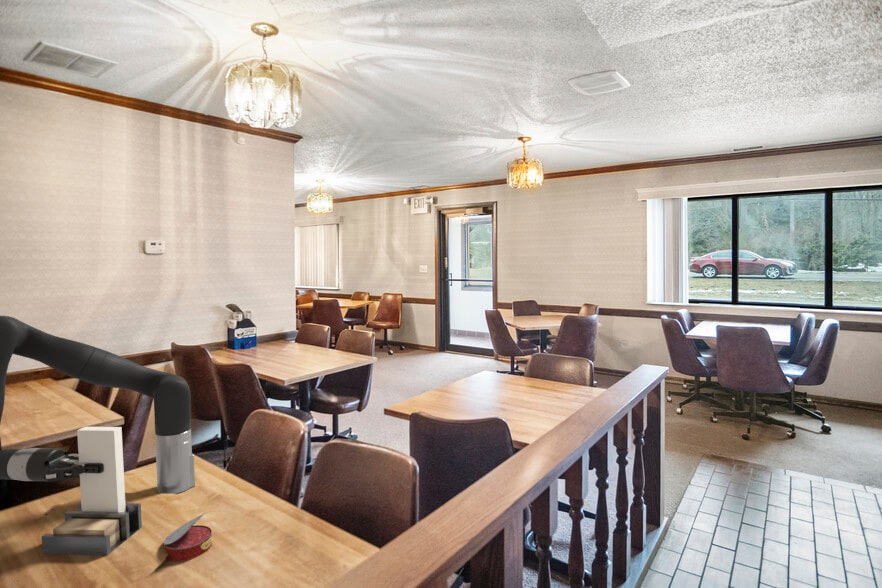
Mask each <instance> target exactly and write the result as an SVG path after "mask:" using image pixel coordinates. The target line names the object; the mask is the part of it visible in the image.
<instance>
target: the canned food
mask: <svg viewBox="0 0 882 588" xmlns="http://www.w3.org/2000/svg"><path fill="white" fill-rule="evenodd" d="M204 515H206V512H205V513H203V514H201V515H198V516H197V517H195V518H193V519H191V520H189V521H188V522H186V523H184V524H182V525H181V526H179V527H178V528H177V529H175V530H174V531H173V532H172V533H170V534H169V535H167V537H165V539H164V542H163V546H164V551H165V552H166V553H168V555H167V556H166V557H165V558H166V559H167V560H168V561H171V562H183V561H184V562H185V561H188V560H193V559H195V558H198V557H200V556H202V555H204V554H205V553H206V552H208V551H209V550H210V549H211V548H212V546H213V545H212V544H213V538H212V537H213V535H212V532H213V531H212V529H211V528H210V526H207V525H203V524H202V525H201V524H200V525H198V524H196V523H197V522H199V520H200V519H201V518H202V517H203V516H204ZM195 524H196V525H195Z"/></svg>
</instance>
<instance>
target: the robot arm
mask: <svg viewBox="0 0 882 588" xmlns="http://www.w3.org/2000/svg"><path fill="white" fill-rule="evenodd" d="M13 355H16V356H20V357H24V358H28V359H31V360H34V361H36V362H40V363H42V364H43V365H46V366H47V367H49V368H51V369H53V370H55V371H57V372H59V373H62V374H64V375H67V376H68V377H70V378H74V379H76V380H79V381H82V382H85V383H89V384H91V385H95V386H100V387H104V388H105V387H106V388H111V389H112V388H114V389H122V390H123V389H124V390H130V391H132V392H136V393H139V394H142V395H144V396H146V397H149V398H151V399H153V409H154V410H153V411H154V412H153V413H154V434H155V435H154V436H155V437H154V438H155V460H156V462H155V463H156V482H157V483H156V486H157V487H156V489H157V492H158V494H166V495H167V494H168V495H169V494H171V495H172V494H174V495H175V494H180V493H182V492H186V491H187V490H190V489H191V488H193V487H195V486H196V478H195V475H196V474H195V473H196V471H195V455H194V453H193V451H192V426H191V425H192V400H191V398H192V397H191V396H192V395H191V389H190V386H189V384H188V381H187V380H186V379H184V378H183V377H182V376H180V375H179V374H178V375H177V374H176V373H175V374H174V373H170V372H166V371H161V370H158V369H154V368H150V367H147V366H143V365H142V364H139V363H137V362H135V361H133V360H130V359H128V358H125V357H123V356H120V355H118V354H115V353H113V352H111V351H108V350H105V349H102V348H99V347H96V346H93V345H90V344H86V343H84V342H80V341H76V340H74V339H69V338H65V337H59V336H55V335H53V334H50V333H47V332H46V331H43V330H41V329H38V328H36V327H34V326H31V325H29V324H27V323H25V322H23V321H21V320H19V319H17V318H15V317H12V316H8V315H0V424H1V422H2V417H3V412H4V408H5V398H6V397H5V395H6V394H5V393H6V378H7V372H8V369H9V365H10V362H11V359H12V356H13ZM2 447H3V446H2V440H1V437H0V480H7V481H8V480H9V481H10V480H15V481H16V480H17V481H22V482H46V483H51V482H57V481H64V480H70V479H76V478H78V477H79V476H80V475H84V474H86V473H102V472H103V471H104V465H103V464H102V463H87V464H86V463H82V462H79V454H78V453H70V454H69V453H68V452H67V451H66V450H65V449H63V448H60V447H59V448H58V447H55V448H54V447H29V448H6V449H5V448H4V449H3V448H2Z"/></svg>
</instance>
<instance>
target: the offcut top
mask: <svg viewBox="0 0 882 588" xmlns="http://www.w3.org/2000/svg"><path fill="white" fill-rule="evenodd" d="M118 530H119V519H77V518H69V519H68V520H66V521H65V520H64V521H63V522H62V523H60V524H58V525H56V526H55V527H54V528H52V534H67V535H110V536H112V535H113V534H114V533H116V532H117V531H118Z"/></svg>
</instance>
